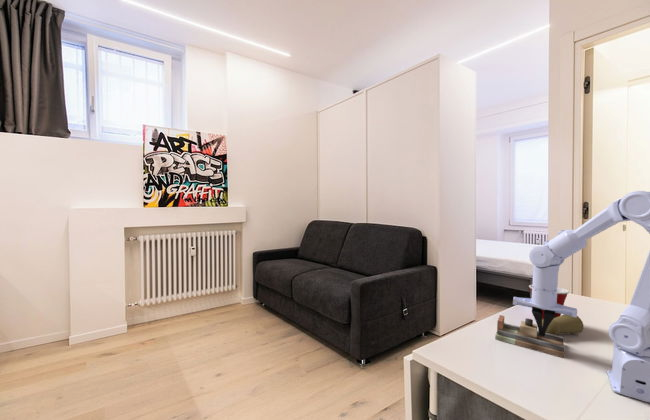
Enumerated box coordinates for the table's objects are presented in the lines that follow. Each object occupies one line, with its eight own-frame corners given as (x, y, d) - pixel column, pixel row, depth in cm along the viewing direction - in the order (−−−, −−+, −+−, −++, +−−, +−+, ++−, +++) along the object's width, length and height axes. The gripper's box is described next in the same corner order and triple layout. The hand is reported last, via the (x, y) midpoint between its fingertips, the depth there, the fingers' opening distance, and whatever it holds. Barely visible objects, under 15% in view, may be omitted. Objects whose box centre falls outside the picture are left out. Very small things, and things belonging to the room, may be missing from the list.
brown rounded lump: (585, 335, 89) (556, 341, 87) (564, 330, 95) (537, 335, 92) (582, 315, 90) (553, 320, 87) (562, 310, 95) (534, 315, 93)
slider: (536, 336, 87) (537, 319, 87) (536, 342, 84) (537, 324, 83) (520, 332, 89) (521, 315, 89) (519, 337, 86) (520, 320, 86)
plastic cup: (557, 317, 104) (559, 284, 103) (574, 331, 93) (576, 294, 92) (522, 313, 106) (523, 281, 106) (534, 326, 96) (536, 290, 95)
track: (563, 343, 85) (564, 327, 85) (564, 357, 78) (565, 339, 78) (499, 328, 95) (500, 312, 95) (495, 339, 88) (495, 322, 87)
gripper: (577, 289, 82) (574, 336, 83) (515, 280, 91) (513, 322, 92) (578, 296, 77) (575, 347, 78) (513, 285, 86) (511, 331, 86)
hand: (541, 334), depth 84 cm, fingers closed
